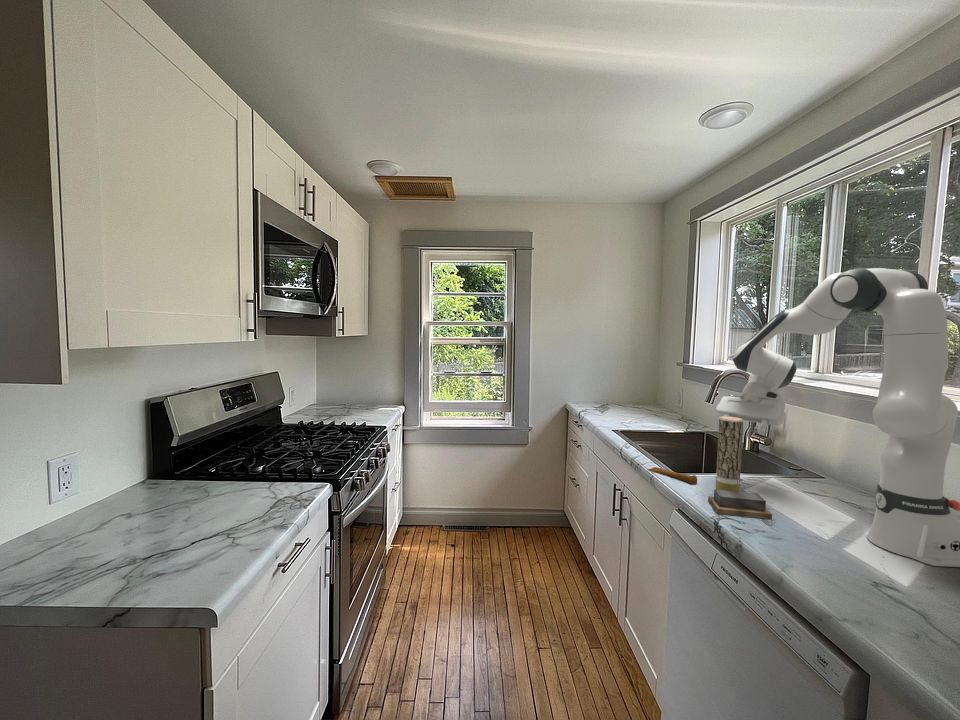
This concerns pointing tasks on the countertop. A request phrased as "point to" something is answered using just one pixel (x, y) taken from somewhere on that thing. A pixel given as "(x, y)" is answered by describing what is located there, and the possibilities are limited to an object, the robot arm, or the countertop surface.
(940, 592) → the countertop surface
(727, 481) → the bark patterned cylinder
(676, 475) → the primitive tool
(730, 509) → the stand
